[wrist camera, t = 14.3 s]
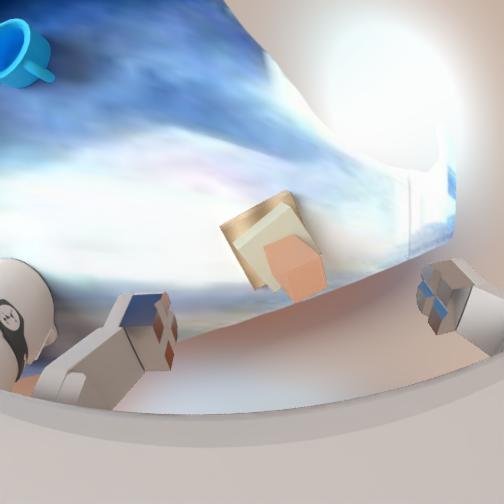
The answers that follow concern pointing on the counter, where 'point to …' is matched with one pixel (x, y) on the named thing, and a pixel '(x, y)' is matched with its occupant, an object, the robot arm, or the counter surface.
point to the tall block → (296, 267)
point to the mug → (23, 55)
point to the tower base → (246, 221)
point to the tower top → (271, 240)
